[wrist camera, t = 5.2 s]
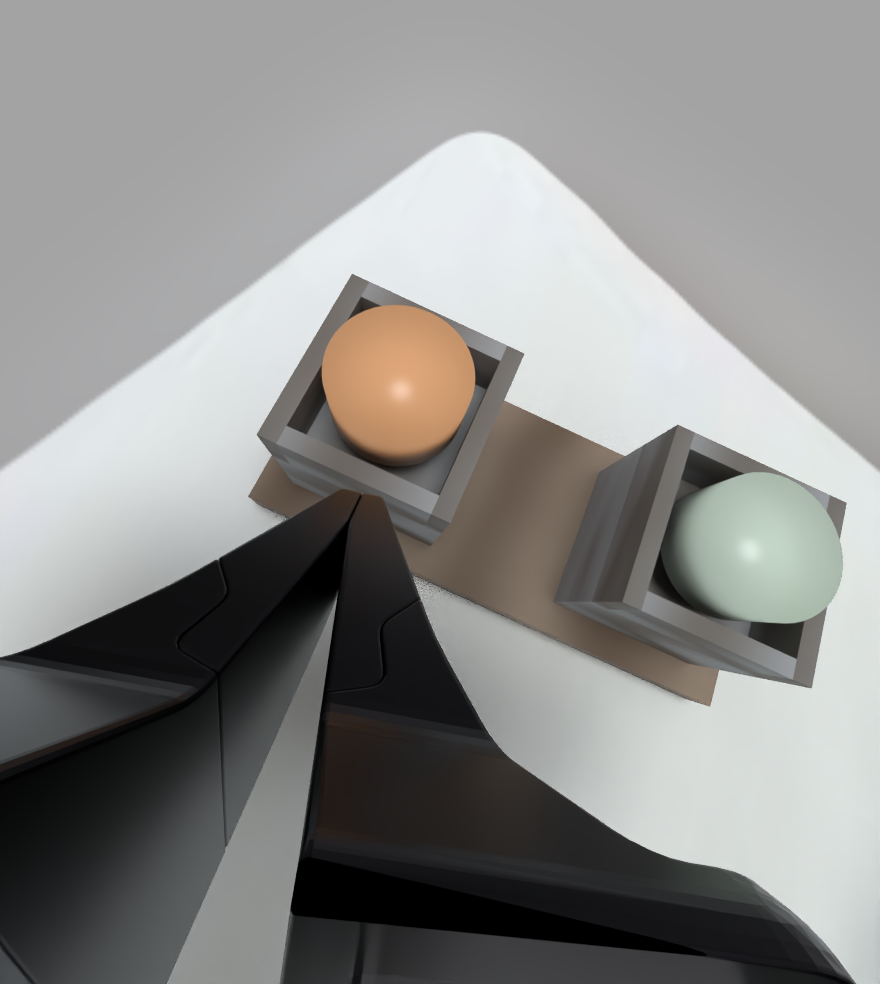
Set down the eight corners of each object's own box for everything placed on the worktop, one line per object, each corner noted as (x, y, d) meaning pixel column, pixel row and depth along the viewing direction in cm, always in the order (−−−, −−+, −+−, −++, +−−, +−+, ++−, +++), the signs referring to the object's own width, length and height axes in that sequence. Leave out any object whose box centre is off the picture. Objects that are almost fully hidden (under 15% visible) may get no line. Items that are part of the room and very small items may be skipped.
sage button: (803, 543, 15) (864, 535, 13) (745, 649, 14) (803, 657, 12) (700, 463, 15) (746, 443, 13) (636, 561, 14) (675, 554, 12)
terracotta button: (488, 398, 15) (504, 368, 13) (405, 493, 14) (409, 476, 12) (390, 319, 15) (391, 278, 13) (301, 407, 14) (288, 376, 12)
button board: (731, 522, 22) (888, 487, 15) (685, 698, 20) (844, 749, 13) (348, 345, 22) (332, 228, 15) (258, 504, 19) (191, 451, 13)
